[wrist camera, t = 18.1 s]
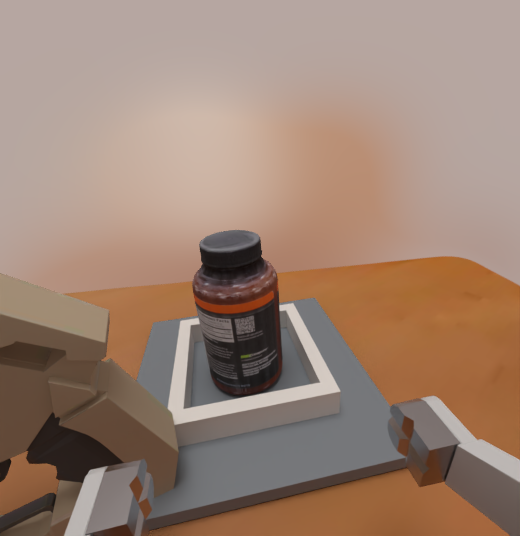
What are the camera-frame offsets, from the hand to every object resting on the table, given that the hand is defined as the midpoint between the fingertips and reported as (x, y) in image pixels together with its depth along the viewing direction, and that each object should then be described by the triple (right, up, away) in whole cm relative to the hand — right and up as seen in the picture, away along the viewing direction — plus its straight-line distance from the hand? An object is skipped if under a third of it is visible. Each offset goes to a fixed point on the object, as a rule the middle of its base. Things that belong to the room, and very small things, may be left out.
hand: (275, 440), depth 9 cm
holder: (-1, -3, +14) cm, 15 cm away
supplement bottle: (-2, -3, +14) cm, 14 cm away
